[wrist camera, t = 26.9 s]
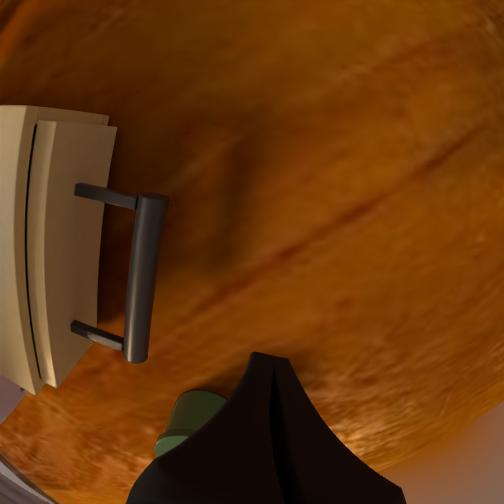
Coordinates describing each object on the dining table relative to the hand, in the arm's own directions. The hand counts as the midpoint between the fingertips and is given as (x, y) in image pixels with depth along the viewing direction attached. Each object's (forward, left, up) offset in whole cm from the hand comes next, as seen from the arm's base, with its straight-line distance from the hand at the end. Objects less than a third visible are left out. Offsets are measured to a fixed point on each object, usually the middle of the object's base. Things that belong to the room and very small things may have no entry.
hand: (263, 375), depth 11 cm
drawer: (0, +15, -7) cm, 17 cm away
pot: (-12, +2, -8) cm, 15 cm away
